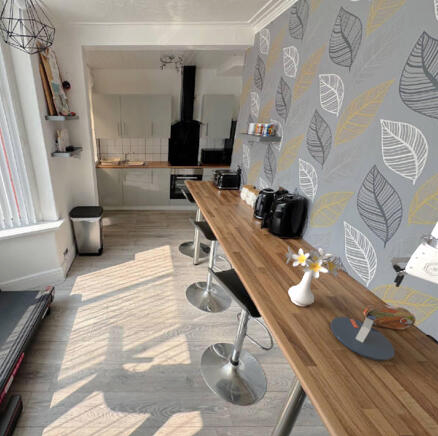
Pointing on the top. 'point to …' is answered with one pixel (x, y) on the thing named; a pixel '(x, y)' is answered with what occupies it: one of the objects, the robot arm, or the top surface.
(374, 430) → the top surface
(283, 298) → the top surface
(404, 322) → the tin
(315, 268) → the flower vase
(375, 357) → the rotary dial knob
